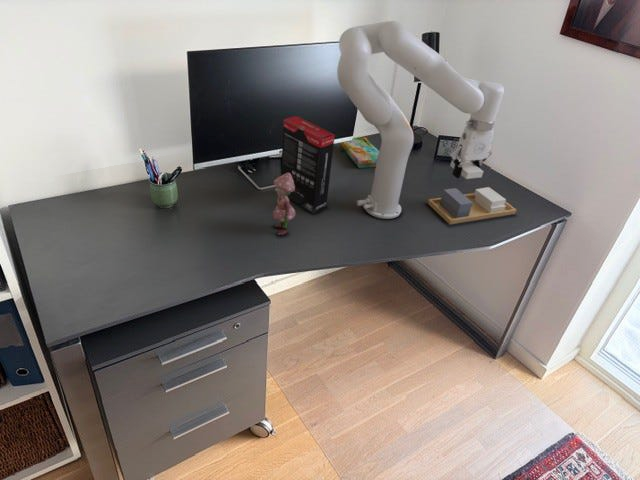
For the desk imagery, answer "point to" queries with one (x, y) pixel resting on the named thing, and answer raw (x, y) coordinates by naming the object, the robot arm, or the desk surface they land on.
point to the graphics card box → (307, 162)
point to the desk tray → (475, 213)
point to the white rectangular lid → (469, 170)
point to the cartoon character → (284, 201)
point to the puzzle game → (361, 152)
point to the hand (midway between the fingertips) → (464, 174)
